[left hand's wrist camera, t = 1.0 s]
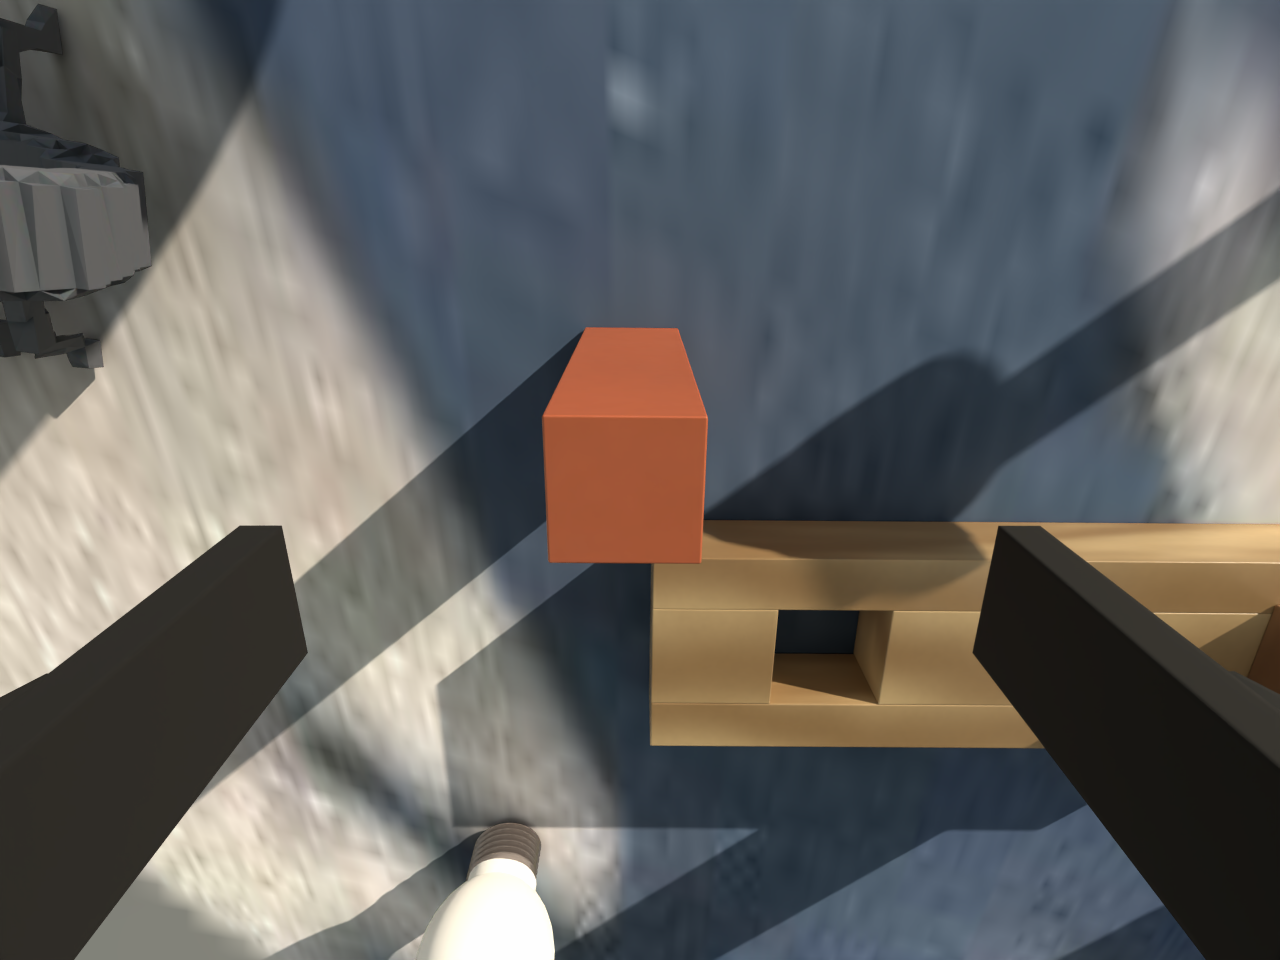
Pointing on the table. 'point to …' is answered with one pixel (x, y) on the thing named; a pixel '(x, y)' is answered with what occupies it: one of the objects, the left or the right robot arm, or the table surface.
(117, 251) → the toy
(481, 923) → the light bulb
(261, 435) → the table surface
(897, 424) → the table surface
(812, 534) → the board
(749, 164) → the table surface
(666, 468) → the peg
